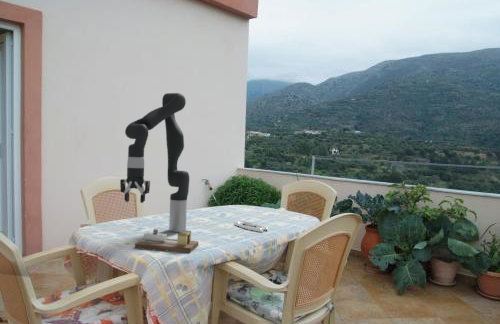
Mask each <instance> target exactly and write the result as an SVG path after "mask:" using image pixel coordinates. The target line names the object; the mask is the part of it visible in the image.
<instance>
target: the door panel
mask: <svg viewBox="0 0 500 324" xmlns="http://www.w3.org/2000/svg"><path fill="white" fill-rule="evenodd" d="M197 247H199V240H198V241H197V240H196V241H195V240H191V243H187V246H177V239H176V238H175V239H174V238H167V241H165V242H158V241H147V240H144V238H142V239H140V240H138V241H137V242H136V243H134V249H142V248H144V250H153V249H155V251H164V250H168V251H167V252H175V251H178V253H189V254H191V253H192V252H193V251H194V250H195V249H197Z"/></svg>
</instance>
